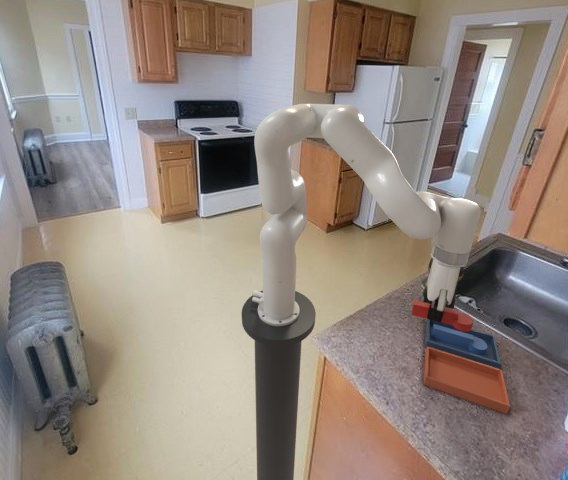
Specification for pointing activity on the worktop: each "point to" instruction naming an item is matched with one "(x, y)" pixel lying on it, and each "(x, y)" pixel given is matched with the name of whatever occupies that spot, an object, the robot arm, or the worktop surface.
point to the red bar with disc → (445, 316)
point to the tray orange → (466, 379)
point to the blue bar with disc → (459, 339)
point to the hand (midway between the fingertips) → (434, 316)
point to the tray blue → (488, 358)
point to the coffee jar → (425, 299)
